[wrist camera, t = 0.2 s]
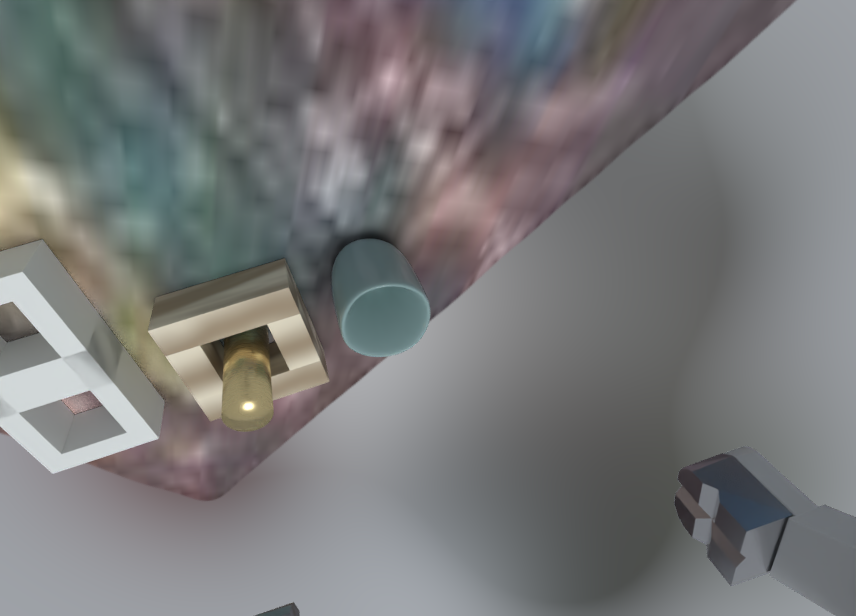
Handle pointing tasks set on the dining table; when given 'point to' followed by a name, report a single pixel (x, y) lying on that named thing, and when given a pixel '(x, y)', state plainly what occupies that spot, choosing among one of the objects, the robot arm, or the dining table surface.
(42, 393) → the rack
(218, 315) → the socket block
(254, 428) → the brass peg
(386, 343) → the cup
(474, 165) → the dining table surface
